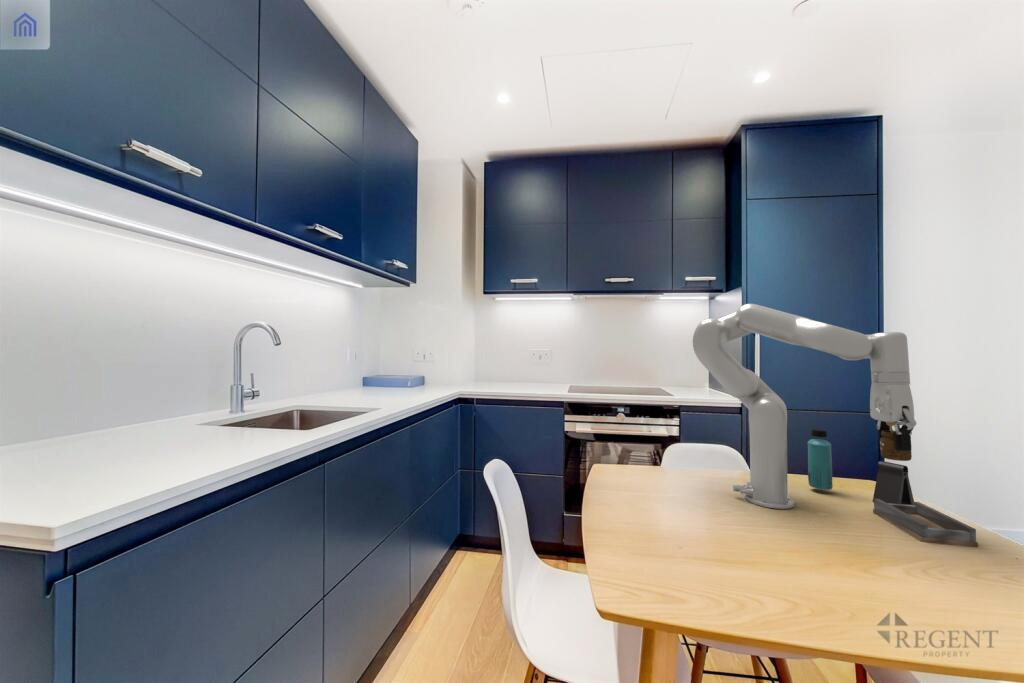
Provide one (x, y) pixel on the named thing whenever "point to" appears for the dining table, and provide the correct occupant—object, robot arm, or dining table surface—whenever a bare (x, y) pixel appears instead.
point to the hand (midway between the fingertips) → (894, 446)
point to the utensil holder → (892, 446)
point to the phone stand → (893, 484)
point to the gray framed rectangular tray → (926, 523)
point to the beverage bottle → (819, 461)
